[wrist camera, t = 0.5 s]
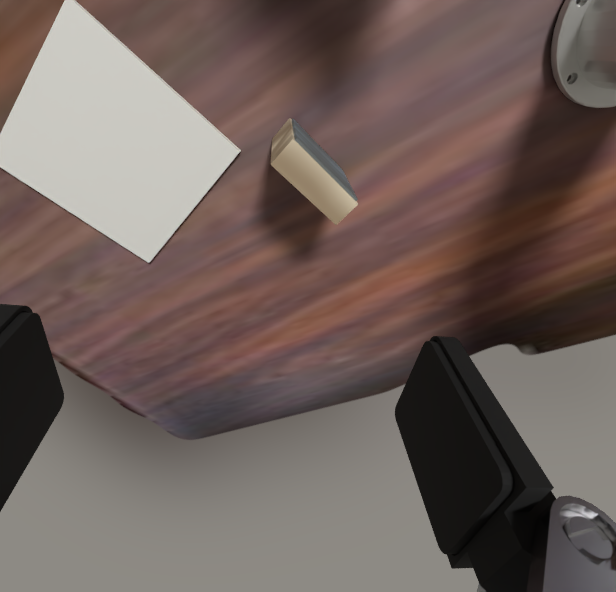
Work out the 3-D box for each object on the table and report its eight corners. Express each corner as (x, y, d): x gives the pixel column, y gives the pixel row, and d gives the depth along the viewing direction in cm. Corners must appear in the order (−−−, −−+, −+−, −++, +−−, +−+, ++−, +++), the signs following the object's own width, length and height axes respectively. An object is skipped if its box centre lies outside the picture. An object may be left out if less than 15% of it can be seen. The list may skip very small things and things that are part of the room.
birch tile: (291, 116, 33) (294, 136, 25) (343, 170, 36) (360, 202, 28) (272, 138, 34) (270, 164, 26) (324, 189, 37) (336, 225, 29)
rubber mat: (70, -4, 27) (67, -5, 27) (240, 150, 34) (240, 151, 34) (-9, 158, 33) (-12, 159, 33) (150, 260, 40) (148, 263, 39)
